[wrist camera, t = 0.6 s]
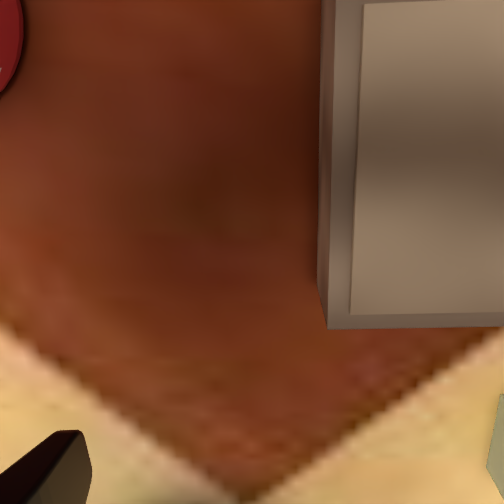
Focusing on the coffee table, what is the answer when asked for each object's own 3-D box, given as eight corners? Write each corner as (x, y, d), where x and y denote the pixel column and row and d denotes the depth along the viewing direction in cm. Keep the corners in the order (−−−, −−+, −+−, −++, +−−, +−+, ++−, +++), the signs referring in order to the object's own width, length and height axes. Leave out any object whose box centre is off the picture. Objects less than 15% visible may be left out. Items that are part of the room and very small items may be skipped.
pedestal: (579, 278, 21) (651, 327, 17) (316, 284, 22) (328, 333, 18) (653, -21, 17) (773, -48, 13) (321, -5, 17) (337, -27, 13)
